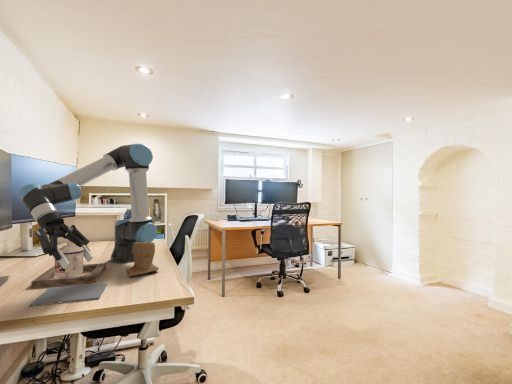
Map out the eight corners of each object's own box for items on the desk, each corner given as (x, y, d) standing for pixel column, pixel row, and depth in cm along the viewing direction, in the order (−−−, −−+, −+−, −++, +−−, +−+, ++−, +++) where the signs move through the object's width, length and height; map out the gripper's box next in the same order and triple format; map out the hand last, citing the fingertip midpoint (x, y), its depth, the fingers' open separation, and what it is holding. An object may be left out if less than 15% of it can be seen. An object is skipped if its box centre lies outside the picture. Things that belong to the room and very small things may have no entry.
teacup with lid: (48, 274, 94) (49, 242, 94) (75, 269, 102) (76, 239, 102) (65, 280, 88) (67, 246, 89) (92, 274, 96) (94, 243, 97)
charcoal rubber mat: (107, 284, 107) (107, 282, 107) (98, 299, 92) (99, 297, 92) (48, 289, 100) (48, 287, 100) (29, 306, 85) (29, 304, 85)
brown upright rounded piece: (149, 267, 133) (150, 238, 133) (162, 272, 125) (163, 241, 125) (119, 273, 121) (120, 241, 121) (130, 279, 114) (131, 245, 114)
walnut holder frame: (105, 268, 129) (106, 263, 129) (95, 282, 109) (95, 276, 109) (52, 271, 122) (53, 266, 122) (31, 287, 101) (31, 281, 101)
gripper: (69, 221, 110) (98, 262, 106) (9, 227, 89) (42, 278, 85) (79, 209, 109) (109, 250, 105) (21, 212, 88) (55, 263, 84)
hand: (79, 262), depth 95 cm, fingers closed on teacup with lid, 9 cm apart
